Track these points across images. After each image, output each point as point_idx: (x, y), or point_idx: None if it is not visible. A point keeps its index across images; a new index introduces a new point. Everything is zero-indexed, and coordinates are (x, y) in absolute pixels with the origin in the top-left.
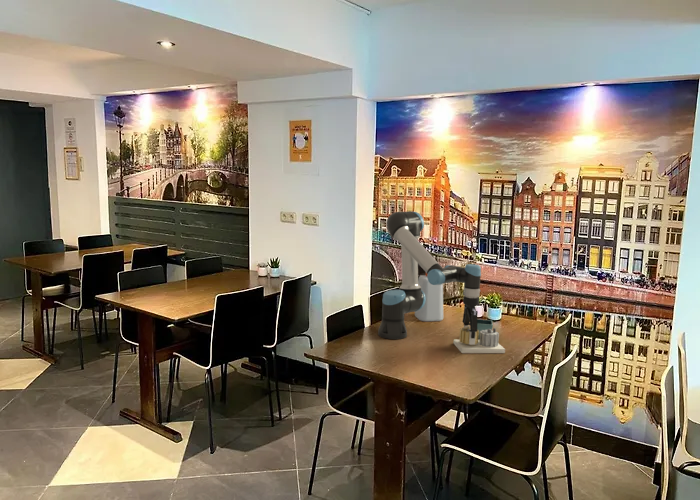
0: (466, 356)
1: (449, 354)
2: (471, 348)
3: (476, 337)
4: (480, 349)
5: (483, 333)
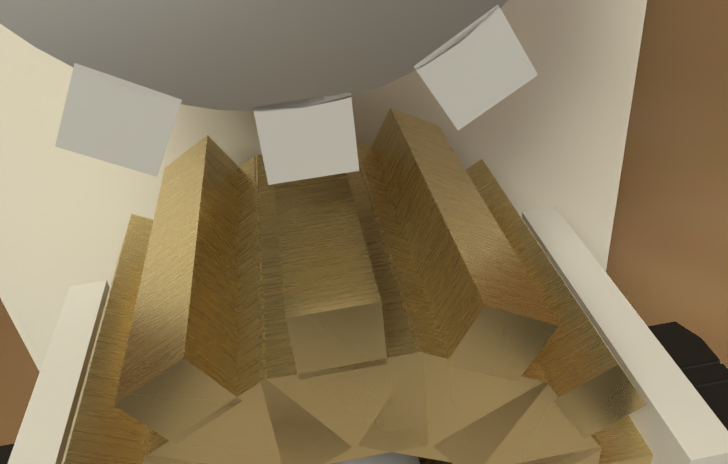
0: (704, 272)
1: None
2: (580, 234)
3: (548, 259)
4: (630, 72)
5: (469, 82)
